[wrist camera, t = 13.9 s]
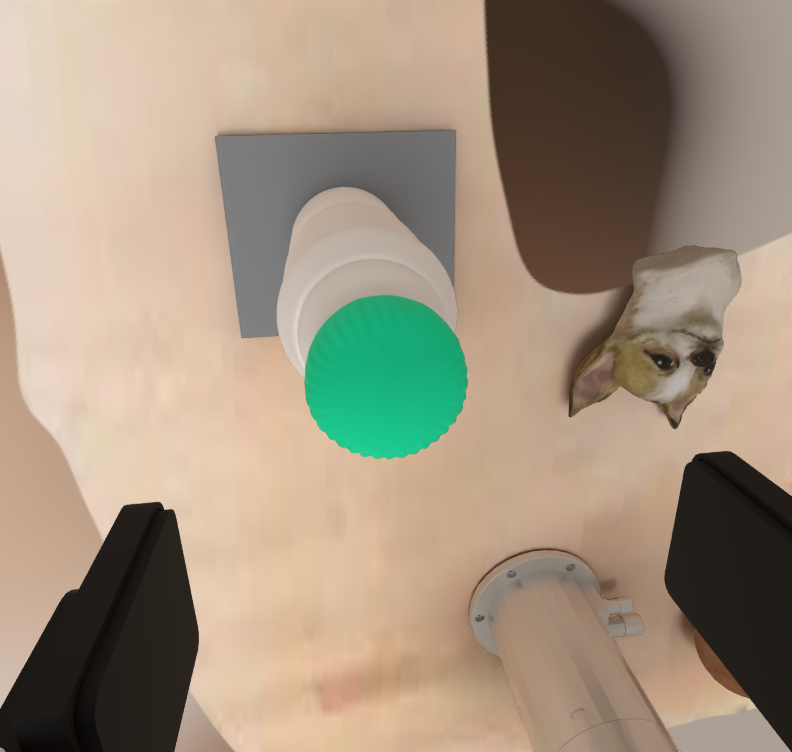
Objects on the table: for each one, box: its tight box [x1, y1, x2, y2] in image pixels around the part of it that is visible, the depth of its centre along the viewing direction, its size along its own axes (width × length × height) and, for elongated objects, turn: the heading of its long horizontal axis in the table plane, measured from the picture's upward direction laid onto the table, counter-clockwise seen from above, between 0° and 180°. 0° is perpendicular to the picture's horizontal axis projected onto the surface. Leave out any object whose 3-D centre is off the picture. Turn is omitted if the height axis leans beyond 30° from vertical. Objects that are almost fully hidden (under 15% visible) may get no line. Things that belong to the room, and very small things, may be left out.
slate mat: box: [215, 130, 456, 338], centre depth 39 cm, size 15×13×1 cm
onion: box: [694, 627, 749, 698], centre depth 55 cm, size 10×9×10 cm
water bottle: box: [277, 187, 468, 459], centre depth 27 cm, size 7×7×25 cm
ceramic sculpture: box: [569, 246, 741, 429], centre depth 42 cm, size 11×9×15 cm
